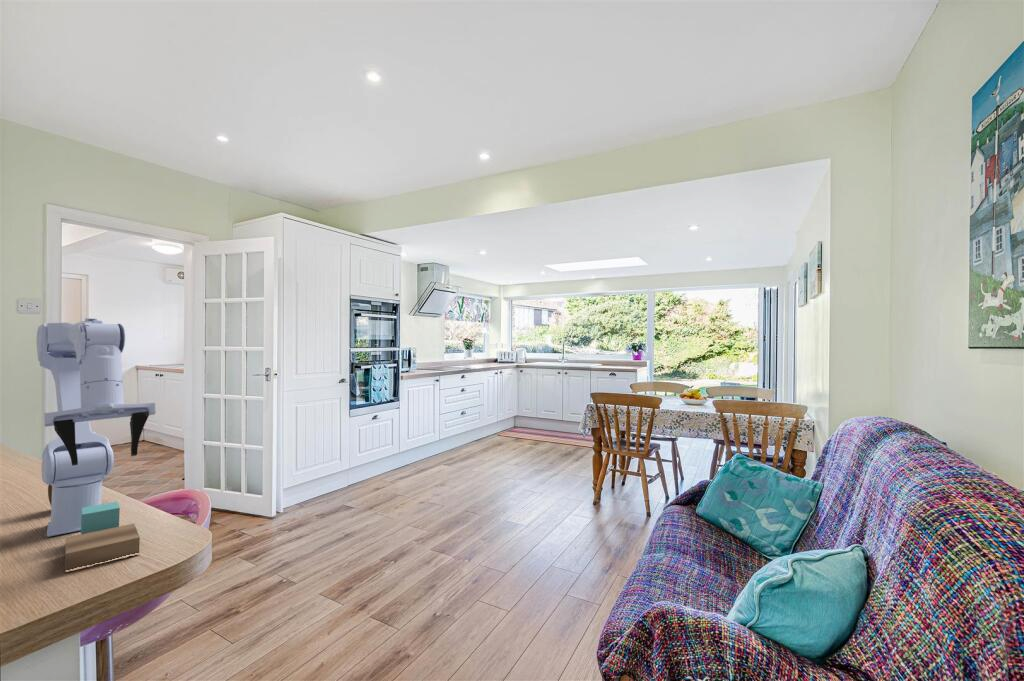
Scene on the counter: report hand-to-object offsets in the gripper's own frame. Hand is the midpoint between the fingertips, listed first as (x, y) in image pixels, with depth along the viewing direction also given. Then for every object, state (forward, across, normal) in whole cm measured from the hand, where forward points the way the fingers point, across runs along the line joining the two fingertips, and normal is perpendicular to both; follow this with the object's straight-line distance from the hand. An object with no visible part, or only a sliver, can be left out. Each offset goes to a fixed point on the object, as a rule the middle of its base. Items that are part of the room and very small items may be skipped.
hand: (105, 459), depth 77 cm
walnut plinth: (+16, -1, +4) cm, 16 cm away
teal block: (+13, -1, +12) cm, 18 cm away
